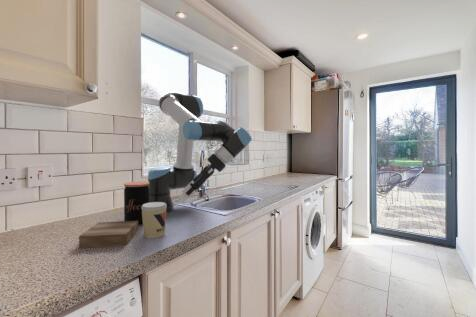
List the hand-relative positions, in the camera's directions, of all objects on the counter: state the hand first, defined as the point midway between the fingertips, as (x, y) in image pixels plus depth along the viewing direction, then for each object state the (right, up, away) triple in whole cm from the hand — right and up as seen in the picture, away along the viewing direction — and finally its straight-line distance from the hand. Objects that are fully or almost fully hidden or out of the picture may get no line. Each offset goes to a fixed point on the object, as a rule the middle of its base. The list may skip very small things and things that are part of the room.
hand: (182, 196), depth 91 cm
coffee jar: (-24, -14, +14) cm, 31 cm away
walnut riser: (-25, -15, -5) cm, 30 cm away
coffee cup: (-11, -15, -1) cm, 18 cm away
